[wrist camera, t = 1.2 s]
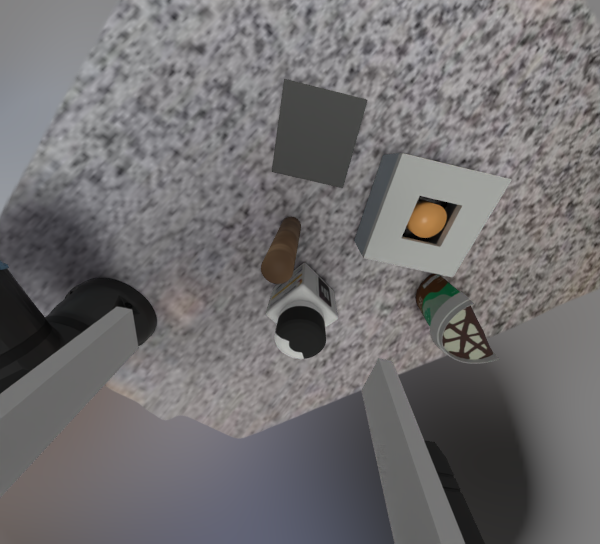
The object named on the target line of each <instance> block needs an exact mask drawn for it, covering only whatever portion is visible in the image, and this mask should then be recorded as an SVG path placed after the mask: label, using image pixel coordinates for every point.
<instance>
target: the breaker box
mask: <svg viewBox="0 0 600 544" xmlns="http://www.w3.org/2000/svg"><path fill="white" fill-rule="evenodd" d="M511 180H512V179H507V178H503V177H499V176H495V175H491V174H487V173H483V172H478V171H474V170H470V169H466V168H462V167H458V166H454V165H449V164H445V163H441V162H437V161H433V160H429V159H425V158H421V157H416V156H412V155H408V154H404V153H399V154H386V155H383V157H382V160H381V163H380V166H379V169H378V172H377V175H376V177H375V180H374V183H373V186H372V189H371V192H370V195H369V198H368V201H367V204H366V207H365V210H364V213H363V216H362V219H361V222H360V225H359V228H358V231H357V234H356V237H355V240H354V241H355V243H356V245H357V247H358V249H359V250H360V252H361V254H362V256H363V258H365V259H369V260H374V261H379V262H383V263H388V264H393V265H397V266H402V267H407V268H411V269H416V270H420V271H425V272H430V273H434V274H439V275H444V276H448V277H453V276H454V275H455V273H456V271H457V270H458V268H459V266H460V265H461V263H462V261H463V260H464V258H465V256H466V255H467V253H468V251H469V250H470V248H471V246H472V245H473V243H474V241H475V240H476V238H477V236H478V235H479V233H480V231H481V230H482V228H483V226H484V225H485V223H486V221H487V220H488V218H489V216H490V215H491V213H492V211H493V210H494V208H495V207H496V205H497V203H498V202H499V200H500V198H501V197H502V195H503V193H504V192H505V190H506V188H507V187H508V185H509V183H510V182H511ZM419 196H423V197H427V198H432V199H436V200H440V201H445V202H448V204H447V206H446V208H445V211H446V214H447V220H446V223H445V225H444V227H443V228H442V230H441V231H440V232H439V233H437V234H436V235H434V236H432V237H431V238H430V240H429V242H424V241H420V240H415V239H411V238H406V237H402V235H403V233H404V231H405V228H406V226H407V224H408V222H409V219H410V217H411V215H412V212H413V210H414V208H415V206H416V203H417V201H418V199H419Z"/></svg>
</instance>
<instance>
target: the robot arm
mask: <svg viewBox="0 0 600 544" xmlns="http://www.w3.org/2000/svg"><path fill="white" fill-rule="evenodd" d="M7 268H9V267H8V265H7V264H5V263H2V261H1V260H0V498H1V497H2V495H3V494H4V493H5V492H6V491H7V490H8V489H9V488H10V487H11V486H12V485H13V483H14V482H15V481H16V480H17V479H18V478H19V477H20V476H21V475H22V474H23V473H24V472H25V471H26V469H27V468H28V467H29V466H30V465H31V464H32V463H33V462H34V460H36V458H38V456H39V455H40V454H41V453H42V452H43V451H44V450H45V449H46V448H47V446H49V445H50V443H51V442H52V441H53V440H54V439H55V438H56V437H57V436H58V434H60V433H61V431H62V430H63V429H64V428H65V427H66V426H67V425H68V424H69V423H70V422H71V421H72V420H73V419H74V417H75V416H76V415H77V414H78V413H79V412H80V411H81V410H82V409H83V408H84V407H85V405H86V404H87V403H88V402H89V401H90V400H91V399H92V398H93V397H94V396H95V395H96V394H97V393H98V391H99V390H100V389H101V388H102V387H103V386H104V385H105V384H106V383H107V382H108V381H109V380H110V378H111V377H112V376H113V375H114V374H115V373H116V372H117V371H118V370H119V369H120V368H121V367H122V365H123V364H124V363H125V362H126V361H127V360H128V359H129V358H130V357H131V356H132V355H133V354H134V352H135V351H136V350H137V349H138V346H140V345H141V344H143V343H144V342H145V341H146V340H147V339H148V338H149V337H150V336H151V335H152V334H153V332H154V331H155V328H156V316H155V313H154V310H153V309H152V307H151V305H150V304H149V303H148V301H147V300H146V299H145V298H144V297H143V296H142V295H141V294H140V293H138V292H137V291H136V290H134V289H133V288H131V287H130V286H128V285H126V284H124V283H121V282H119V281H116V280H112V279H106V278H95V279H90V280H88V281H86V282H84V283H82V284H80V285H78V286H76V287H75V288H73V289H72V290H71V291H70V292H69V293H68V294H67V295H66V297H65V299H64V300H63V301H62V302H60V303H59V304H58V305H57V306H56V307H55V308H54V309H53V310H52V312H51V313H50V314H49V315H48V316H46V317H44V316H43V314H42V313H41V312H40V311H39V310H38V308H37V307H36V306H35V305H34V303H33V302H32V301H31V299H30V298H29V297H28V295H27V294H26V293H25V291H24V290H23V289H22V288H21V286H20V285H19V284H18V282H17V281H16V280H15V278H14V277H13V276H12V274H11V273H10V272H9V270H8V269H7ZM362 395H363V399H364V404H365V409H366V413H367V418H368V423H369V427H370V432H371V436H372V441H373V446H374V450H375V455H376V460H377V464H378V469H379V473H380V478H381V482H382V487H383V492H384V497H385V501H386V506H387V510H388V515H389V520H390V524H391V529H392V533H393V538H394V543H395V544H485V543H484V541H483V539H482V537H481V535H480V532H479V530H478V528H477V525H476V523H475V521H474V520H473V517H472V514H471V512H470V510H469V508H468V506H467V503H466V501H465V499H464V497H463V494H462V493H461V492H460V488H459V486H458V483H457V481H456V479H455V478H454V476H453V472H452V470H451V468H450V466H449V463H448V461H447V459H446V457H445V456H444V454H443V453H442V452H441V450H440V449H439V447H438V446H437V445H436V443H435V442H430V441H425V440H423V437H422V434H421V432H420V429H419V427H418V424H417V422H416V419H415V417H414V414H413V412H412V409H411V407H410V404H409V402H408V400H407V397H406V394H405V392H404V390H403V387H402V384H401V382H400V379H399V377H398V374H397V372H396V369H395V367H394V364H393V362H392V361H390V360H385V359H380V358H379V359H378V361H377V362H376V364H375V366H374V368H373V370H372V372H371V374H370V375H369V377H368V379H367V381H366V383H365V385H364V387H363V388H362Z"/></svg>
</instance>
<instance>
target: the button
mask: <svg viewBox="0 0 600 544" xmlns="http://www.w3.org/2000/svg"><path fill="white" fill-rule="evenodd" d="M446 220H447V214H446V211H445V210H444V208H443V207H441V206H440V205H437V204H434V203H432V202H429V201H426V200H418V201H417V203H416V206H415V208H414V210H413V212H412V215H411V217H410V219H409V222H408V224H407V226H406V228H407V229H408V230H409V231H411V232H412V233H414V234H415V235H416V236H418V237H421V238H428V237H432V236H434V235H436V234H437V233H439V232H440V231H441V230H442V228H443V227H444V225H445V223H446Z"/></svg>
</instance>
